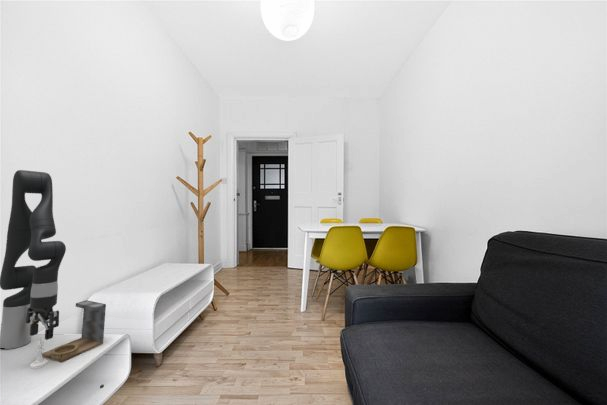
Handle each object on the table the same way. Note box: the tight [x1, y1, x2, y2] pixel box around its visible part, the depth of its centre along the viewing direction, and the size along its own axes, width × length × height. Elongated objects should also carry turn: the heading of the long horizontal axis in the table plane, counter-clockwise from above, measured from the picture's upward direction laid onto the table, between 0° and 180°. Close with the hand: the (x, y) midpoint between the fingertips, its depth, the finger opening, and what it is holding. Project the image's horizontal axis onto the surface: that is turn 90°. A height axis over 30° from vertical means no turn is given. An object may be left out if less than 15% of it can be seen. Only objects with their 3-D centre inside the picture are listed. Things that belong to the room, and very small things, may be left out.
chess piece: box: [29, 337, 49, 369], centre depth 104 cm, size 5×5×10 cm
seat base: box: [42, 300, 107, 363], centre depth 115 cm, size 12×16×18 cm
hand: (41, 336), depth 104 cm, fingers open, 8 cm apart
